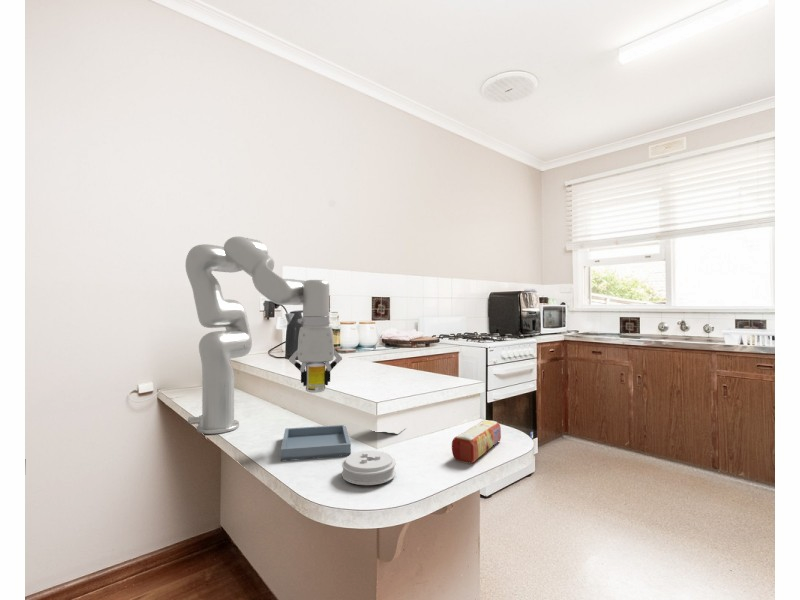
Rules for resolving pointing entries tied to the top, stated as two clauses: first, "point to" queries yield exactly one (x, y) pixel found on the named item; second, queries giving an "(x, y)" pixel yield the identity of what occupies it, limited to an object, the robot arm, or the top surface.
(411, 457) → the top surface
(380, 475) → the lid
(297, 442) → the tray
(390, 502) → the top surface
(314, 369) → the supplement bottle
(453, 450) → the snack package
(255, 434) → the top surface
